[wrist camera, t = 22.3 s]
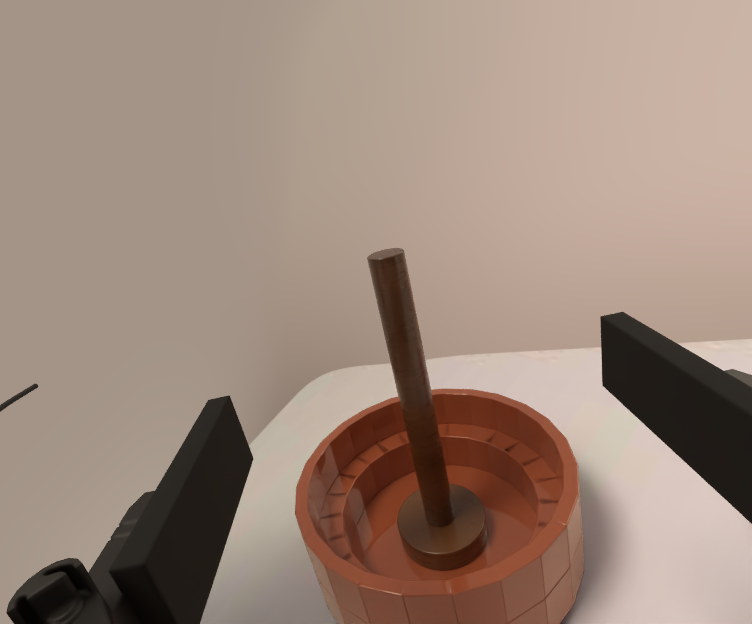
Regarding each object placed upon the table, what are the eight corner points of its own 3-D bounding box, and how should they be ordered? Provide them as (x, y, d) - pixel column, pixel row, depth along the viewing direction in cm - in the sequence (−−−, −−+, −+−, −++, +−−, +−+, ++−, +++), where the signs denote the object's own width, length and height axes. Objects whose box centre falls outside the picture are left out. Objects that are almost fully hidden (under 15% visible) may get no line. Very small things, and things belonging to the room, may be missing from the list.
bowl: (296, 511, 36) (273, 447, 33) (475, 426, 41) (465, 366, 38) (380, 764, 20) (347, 674, 18) (653, 573, 25) (654, 485, 23)
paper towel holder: (387, 521, 32) (317, 261, 25) (456, 486, 34) (409, 233, 27) (427, 588, 26) (352, 280, 20) (507, 541, 28) (463, 244, 21)
